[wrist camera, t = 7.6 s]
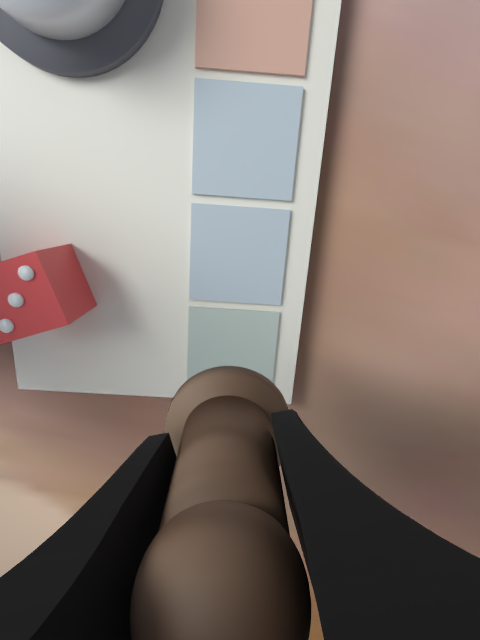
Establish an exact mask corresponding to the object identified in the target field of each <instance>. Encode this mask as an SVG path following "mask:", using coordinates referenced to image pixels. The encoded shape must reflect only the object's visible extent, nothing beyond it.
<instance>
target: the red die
mask: <svg viewBox="0 0 480 640" xmlns="http://www.w3.org/2000/svg"><path fill="white" fill-rule="evenodd" d="M96 306H97V303H96V301H95V298H94V296H93V294H92V291H91V289H90V287H89V284H88V282H87V280H86V277H85V275H84V273H83V270H82V268H81V265H80V263H79V261H78V258H77V256H76V254H75V251H74V249H73V247H72V244H66V245H62V246H57V247H52V248H47V249H42V250H37V251H33V252H30V253H27V254H24V255H20V256H17V257H14V258H11V259H7V260H4V261H1V262H0V345H1V344H4V343H8V342H11V341H14V340H18V339H21V338H25V337H28V336H32V335H35V334H39V333H42V332H46V331H49V330H53V329H56V328H60V327H63V326H67V325H69V324H71V323H72V322H74V321H75V320H77V319H78V318H79V317H81V316H82V315H84V314H85V313H87V312H88V311H90V310H91V309H93V308H94V307H96Z"/></svg>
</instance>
